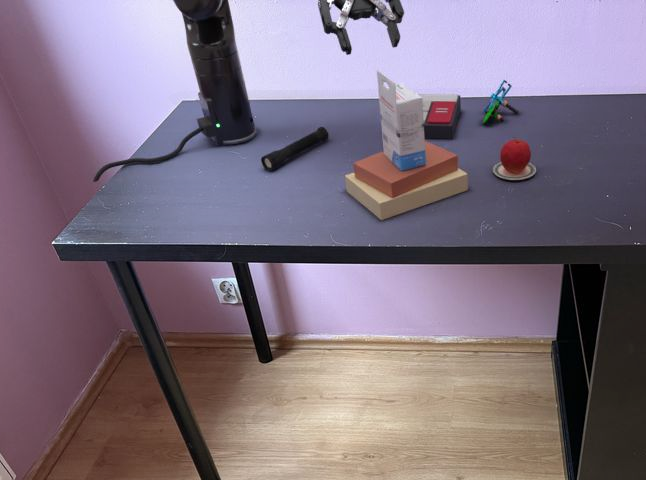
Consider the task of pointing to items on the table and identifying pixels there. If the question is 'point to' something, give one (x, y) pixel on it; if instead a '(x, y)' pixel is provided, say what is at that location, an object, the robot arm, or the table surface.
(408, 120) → the ink box
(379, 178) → the book stack
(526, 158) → the apple
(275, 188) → the table surface
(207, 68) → the robot arm
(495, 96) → the stick construction toy
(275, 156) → the flashlight
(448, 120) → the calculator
